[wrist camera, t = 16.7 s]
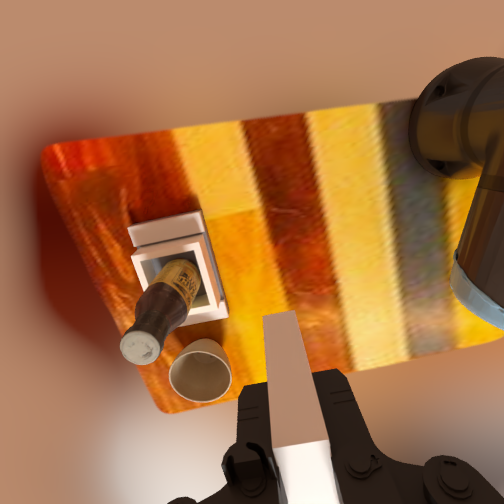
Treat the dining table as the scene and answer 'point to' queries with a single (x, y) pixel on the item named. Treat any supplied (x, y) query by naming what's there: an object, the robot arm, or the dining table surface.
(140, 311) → the sauce bottle
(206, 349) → the flower pot
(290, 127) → the dining table surface
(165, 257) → the caddy
